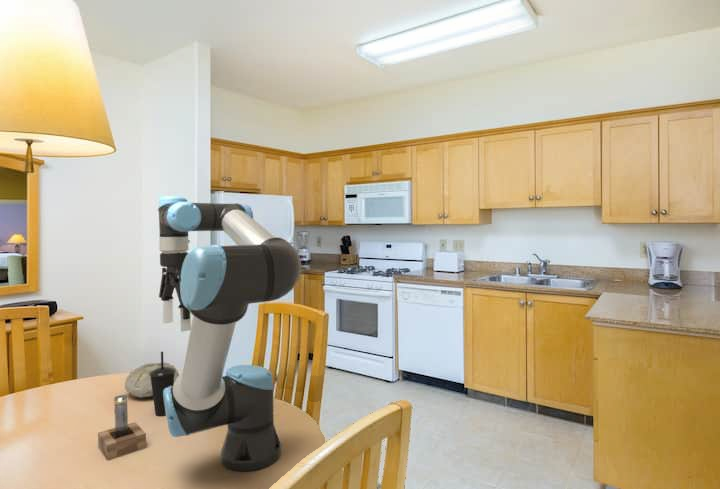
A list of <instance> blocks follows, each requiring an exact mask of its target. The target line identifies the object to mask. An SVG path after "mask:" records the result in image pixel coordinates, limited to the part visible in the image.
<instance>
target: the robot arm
mask: <svg viewBox="0 0 720 489" xmlns="http://www.w3.org/2000/svg"><path fill="white" fill-rule="evenodd" d="M157 211H158V222H159V223H158V226H159V228H158V229H159V240H158V241H159V242H158V244H159V245H158V247H159V251H160V252H161V253H159V264H160V266H161V267H162V269H161V281H160V287H159V293H158V297H159V299H160V300H161V309H162V310H161V311H162V312H161V314H162V324H164V325H165V324H171V323H173V322H174V311H173V310H174V306H173V305H174V304H173V300H174V296H173V294H174V290H175V292H176V295H177V298H178V302H179V305H178V307H177V309H179V310H178V311H179V314H178V315H179V332H180V333H182V332H183V333H184V332H187V331H189V336H188V342H187V347H186V352H185V358H184V365H183V370H182V372H181V373H180V374H179V376H178V377H177V379H176V380H175V382H174V385H173V386H169V387H167V388H165V389H164V391H163V398H164V405H165V412H166V422H167V426H168V427H167V428H168V431H169V434H170V435H171V436H172V437H173V438H179V437H184V436H186V437H187V436H190V435H194V434H197V433H200V432H204V431H208V430H211V429H215V428H218V427H222V426H227V431H226V434H225V438H224V441H223V443H222V444H223V445H222V448H221V451H220V452H221V453H220V455H221V456H220V461H221V464H222V465H223V467H224V468H226V469H229V470H231V471H235V472H251V471H258V470H261V469H265V468H266V467H269V466H270V465H272V464H274V463H275V462H276V461H277V460H278V459H279V458H280V456H281V453H282V449H281V448H282V446H281V445H282V444H281V441H280V438H279V435H278V433H277V430H276V427H275V424H274V390H275V389H274V388H275V386H274V380H273V379H274V378H273V374H272V371H270V370H269V369H268V368H266V367H263V366H260V365H254V364H240V365H239V364H237V365H233V366H231V367H229V368H227V370H226V372H225V375H224V376H223V374H224V370H225V366H226V362H227V359H228V355H229V350H230V348H231V342H232V339H233V335H234V331H235V327H236V324H237V322H240V320H242V319H243V317H245V316H246V313H247V311H248V308H249V305H250V304H258V303H266V302H273V301H276V300H279V299H281V298H282V297H285V296H286V295H288V294H289V293H290V292H291V291H292V290H293V289H294V287H295V286H296V285H297V283H298V281H299V279H300V277H301V272H302V261H301V256H300V255H299V252H298V251H297V250H296V248H295V246H293V245H292V244H291V243H290V242H289V241H287V240H286V239H284V238H282V237H276V236H274V235H273V234H272V233H270V232H269V231H268V230H267V229H266V228H265V227H263V225H261V224H260V223H259V222H258V221H256V220H255V218H254V213H253V210H252V207H251V206H250V205H248V204H244V203H238V202H236V203H217V202H216V203H215V202H214V203H210V202H189V201H188V199H187V198H186V197H183V196H161V197H160V198H159V199H158V208H157ZM190 232H224V233H225V234H226V235H227V236H228V237H229V238H230V239H231V240H232V241H233V242H234V243H235V245H218V244H211V245H206V246H198V247H193V248H192V249H191V250H190V251H189V249H190V248H189V244H190V242H191V240H190V239H189V233H190ZM188 251H189V252H188ZM191 315H192V316H191ZM191 317H192V318H191ZM191 319H192V320H191Z"/></svg>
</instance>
